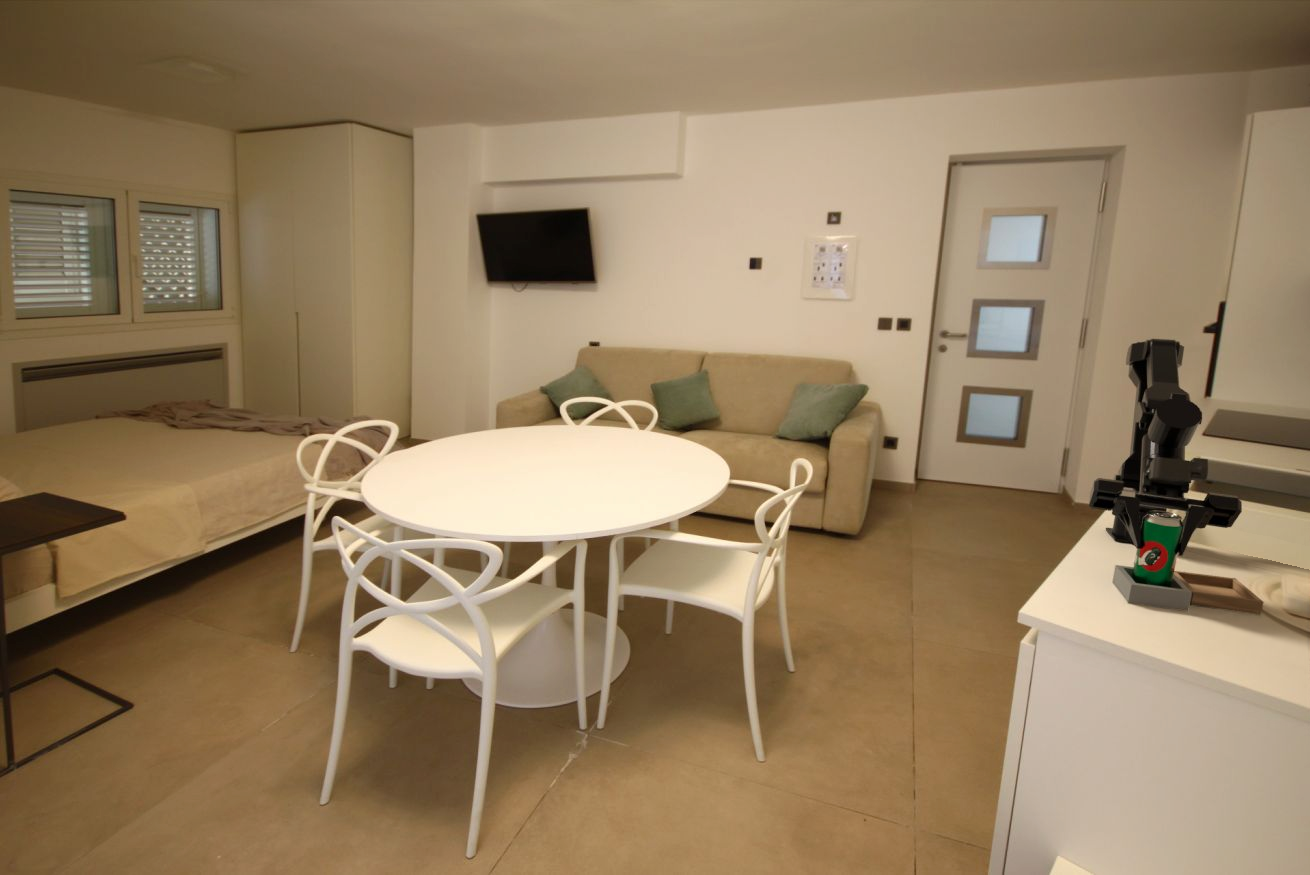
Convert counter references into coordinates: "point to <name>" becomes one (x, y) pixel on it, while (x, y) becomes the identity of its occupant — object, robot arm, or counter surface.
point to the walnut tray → (1220, 593)
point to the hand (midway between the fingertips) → (1159, 551)
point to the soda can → (1158, 548)
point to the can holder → (1151, 591)
